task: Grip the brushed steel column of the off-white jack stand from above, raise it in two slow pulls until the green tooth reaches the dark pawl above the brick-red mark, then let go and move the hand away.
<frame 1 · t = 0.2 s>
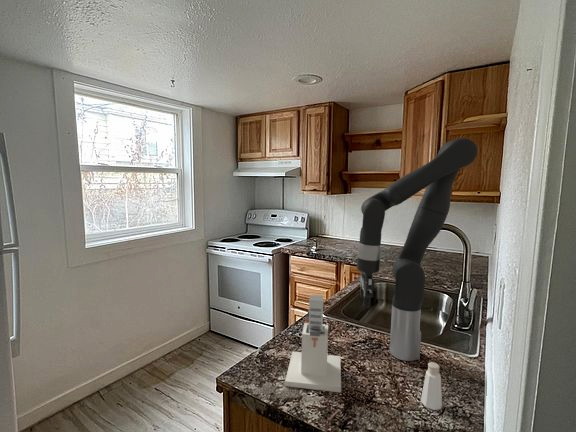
hand: (364, 302, 105), 18 cm above the worktop, tool pointing down, fingers open, 8 cm apart
supplement bottle: (312, 340, 114), on the worktop
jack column: (315, 332, 93), point 13 cm above the worktop, slide at 0.0 cm
pepper shaker: (431, 403, 82), on the worktop
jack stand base: (314, 372, 94), on the worktop
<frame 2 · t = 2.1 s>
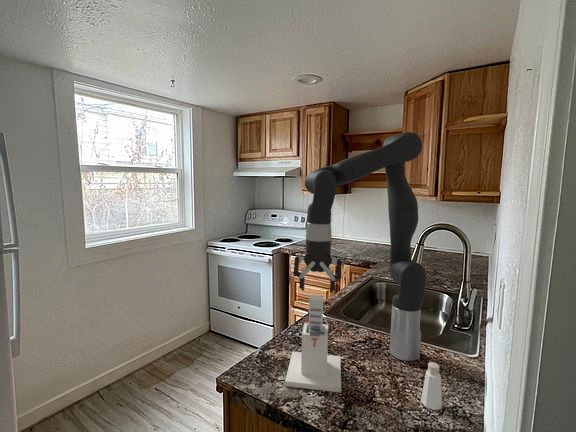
hand: (316, 290, 92), 26 cm above the worktop, tool pointing down, fingers open, 8 cm apart
nothing on the worktop moved.
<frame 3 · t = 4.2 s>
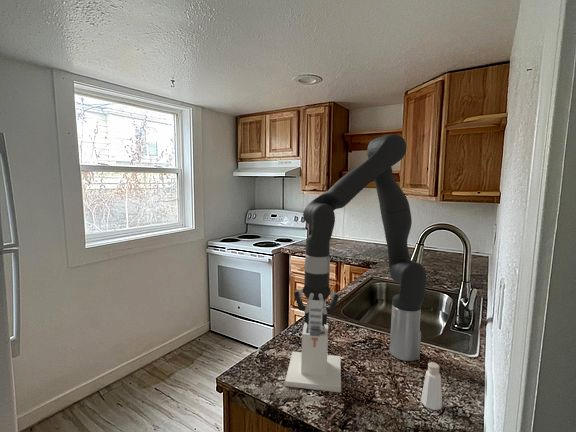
hand: (315, 323, 93), 16 cm above the worktop, tool pointing down, fingers closed on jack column, 4 cm apart
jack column: (315, 332, 93), point 13 cm above the worktop, slide at 0.0 cm, touching gripper
everything else where it was.
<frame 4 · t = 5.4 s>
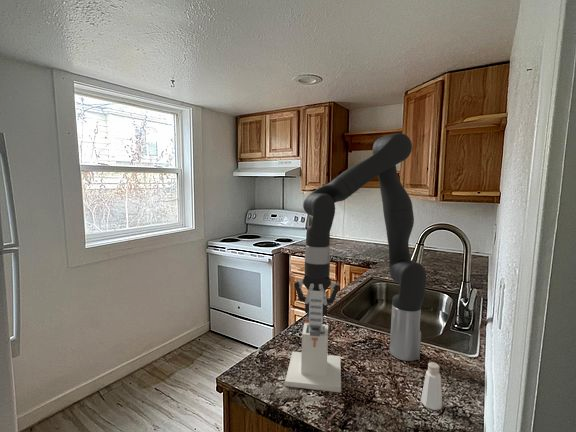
hand: (315, 314, 92), 19 cm above the worktop, tool pointing down, fingers closed on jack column, 4 cm apart
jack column: (315, 323, 92), point 16 cm above the worktop, slide at 2.9 cm, touching gripper
everything else where it was.
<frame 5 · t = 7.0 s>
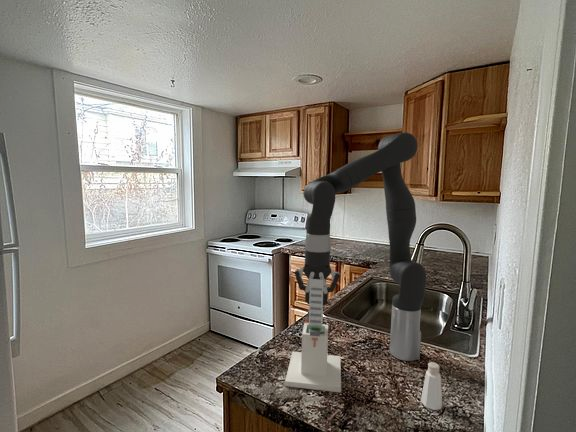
hand: (316, 303, 92), 22 cm above the worktop, tool pointing down, fingers closed on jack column, 4 cm apart
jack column: (316, 312, 92), point 19 cm above the worktop, slide at 6.4 cm, touching gripper
everything else where it was.
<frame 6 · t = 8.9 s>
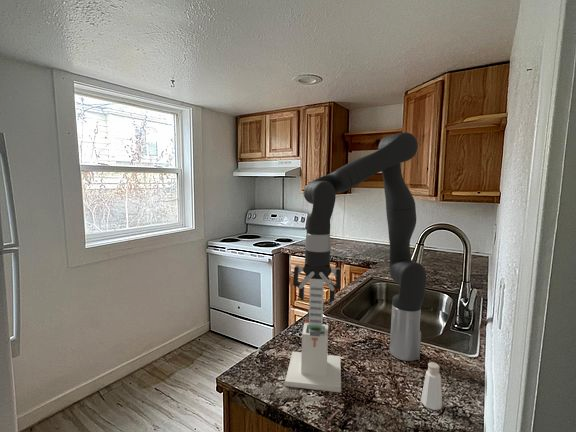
hand: (316, 300, 92), 23 cm above the worktop, tool pointing down, fingers open, 8 cm apart
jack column: (316, 312, 92), point 19 cm above the worktop, slide at 6.5 cm
everything else where it was.
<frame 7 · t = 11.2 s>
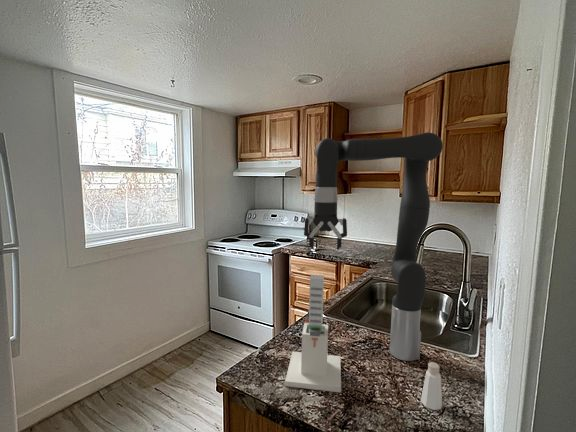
hand: (325, 248, 102), 37 cm above the worktop, tool pointing down, fingers open, 8 cm apart
nothing on the worktop moved.
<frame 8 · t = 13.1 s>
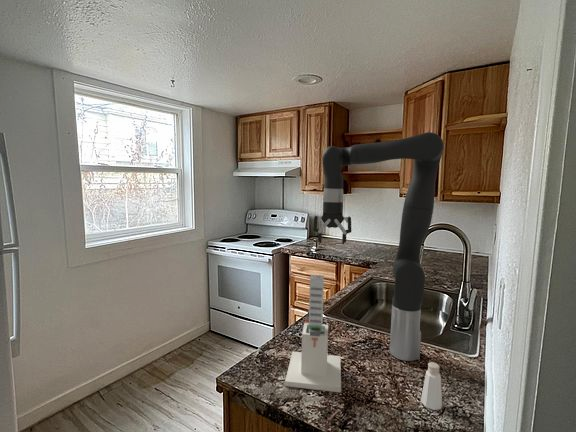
hand: (331, 243, 116), 36 cm above the worktop, tool pointing down, fingers open, 8 cm apart
nothing on the worktop moved.
at the end: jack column slide at 6.5 cm; the gripper is holding nothing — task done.
